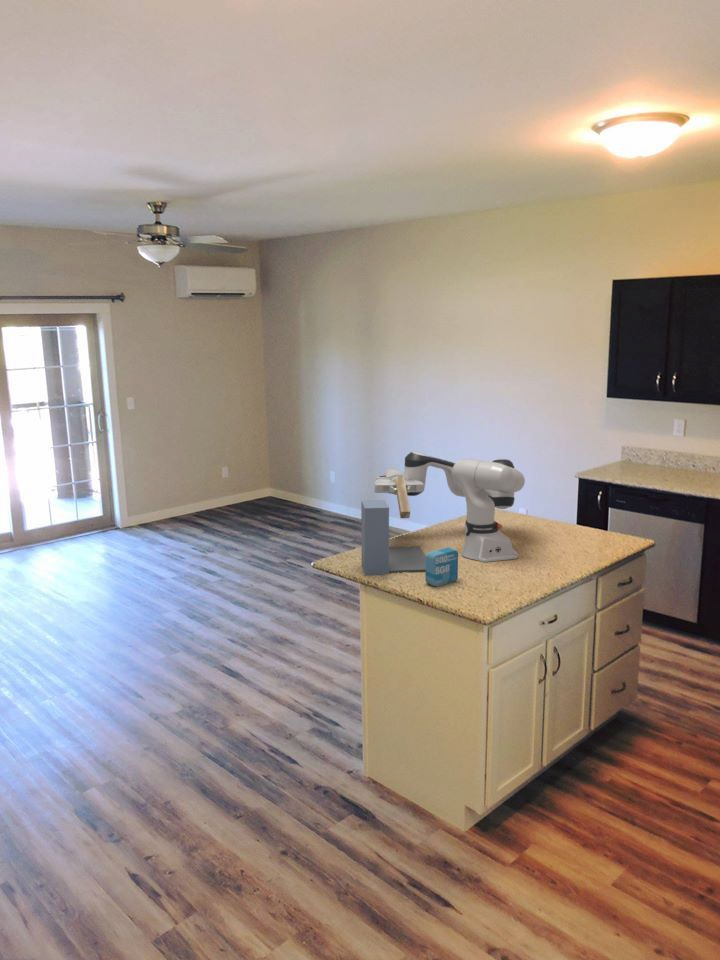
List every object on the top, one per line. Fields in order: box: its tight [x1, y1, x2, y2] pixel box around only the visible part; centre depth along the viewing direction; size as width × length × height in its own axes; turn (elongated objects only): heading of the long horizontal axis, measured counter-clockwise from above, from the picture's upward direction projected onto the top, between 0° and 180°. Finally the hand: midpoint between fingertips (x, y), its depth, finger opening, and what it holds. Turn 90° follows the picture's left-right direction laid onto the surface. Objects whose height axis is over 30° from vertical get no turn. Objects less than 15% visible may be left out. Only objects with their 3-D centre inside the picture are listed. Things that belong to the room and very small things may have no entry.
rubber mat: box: [389, 545, 426, 574], centre depth 299 cm, size 17×30×1 cm, turn 6°
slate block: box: [360, 499, 390, 577], centre depth 284 cm, size 9×12×26 cm
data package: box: [424, 547, 459, 587], centre depth 272 cm, size 12×4×12 cm, turn 126°
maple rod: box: [395, 477, 411, 519], centre depth 296 cm, size 4×20×4 cm
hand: (401, 490), depth 298 cm, fingers closed on maple rod, 3 cm apart
